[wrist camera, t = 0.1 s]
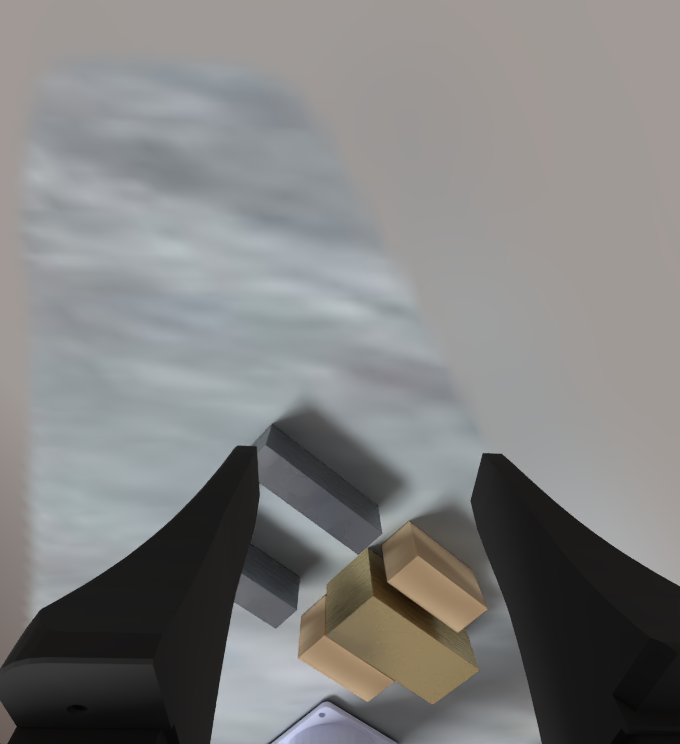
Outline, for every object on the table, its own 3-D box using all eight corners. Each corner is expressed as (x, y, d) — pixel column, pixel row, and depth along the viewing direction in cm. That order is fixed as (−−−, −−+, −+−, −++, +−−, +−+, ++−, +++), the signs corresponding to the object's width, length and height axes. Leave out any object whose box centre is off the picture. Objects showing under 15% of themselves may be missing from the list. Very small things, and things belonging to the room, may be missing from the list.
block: (420, 645, 31) (432, 704, 27) (326, 581, 29) (326, 636, 25) (460, 614, 30) (479, 670, 26) (367, 545, 28) (372, 595, 24)
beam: (364, 658, 31) (367, 702, 28) (301, 616, 29) (297, 658, 26) (472, 570, 28) (488, 609, 25) (408, 521, 27) (418, 555, 24)
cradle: (280, 595, 29) (275, 628, 26) (176, 526, 27) (160, 555, 24) (377, 506, 26) (382, 533, 24) (271, 424, 24) (265, 444, 22)
